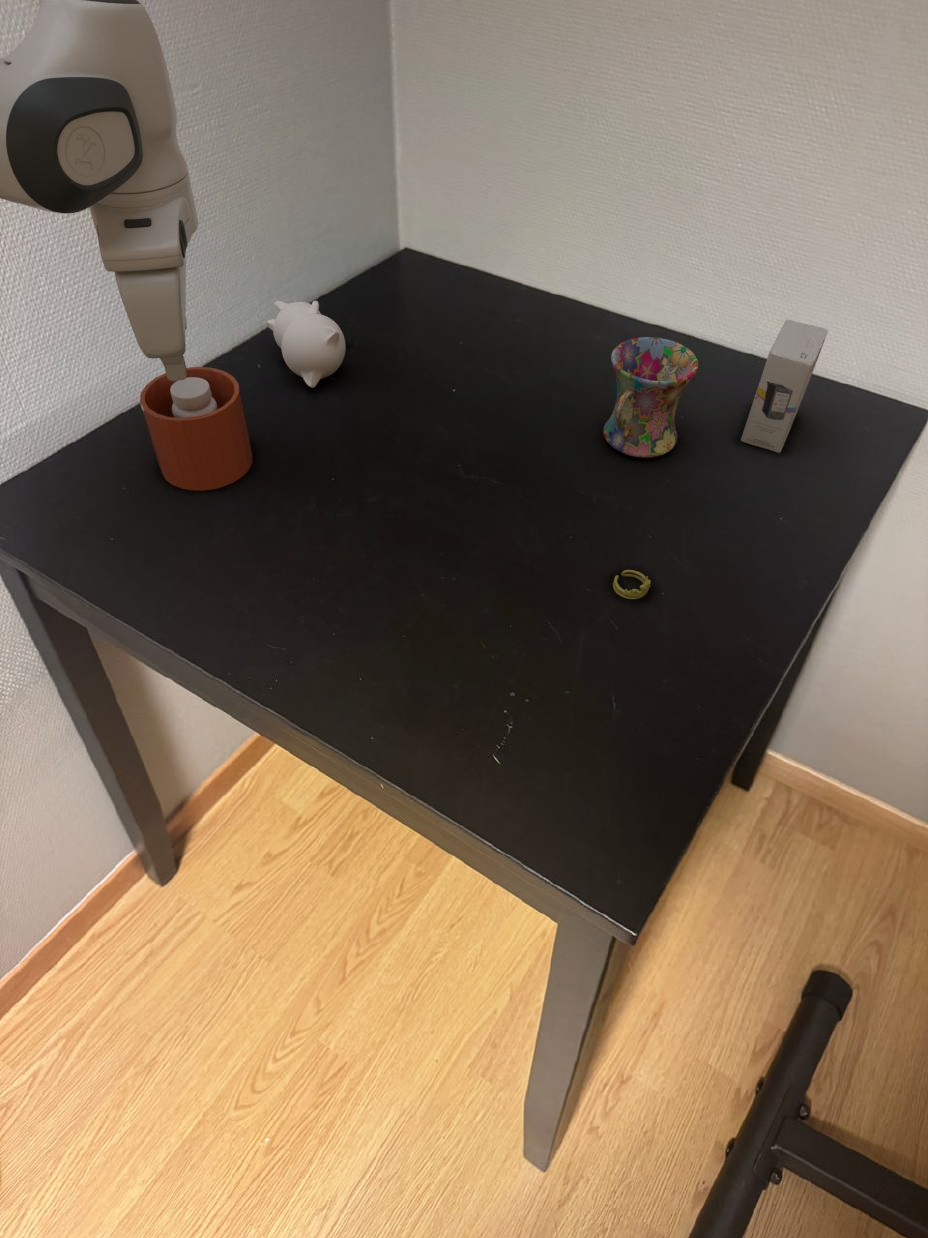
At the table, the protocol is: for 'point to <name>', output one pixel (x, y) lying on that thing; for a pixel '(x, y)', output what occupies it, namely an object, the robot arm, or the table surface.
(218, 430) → the cup
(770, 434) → the ink box
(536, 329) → the table surface
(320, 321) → the cat figurine
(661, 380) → the mug
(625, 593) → the ring
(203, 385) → the pill bottle
